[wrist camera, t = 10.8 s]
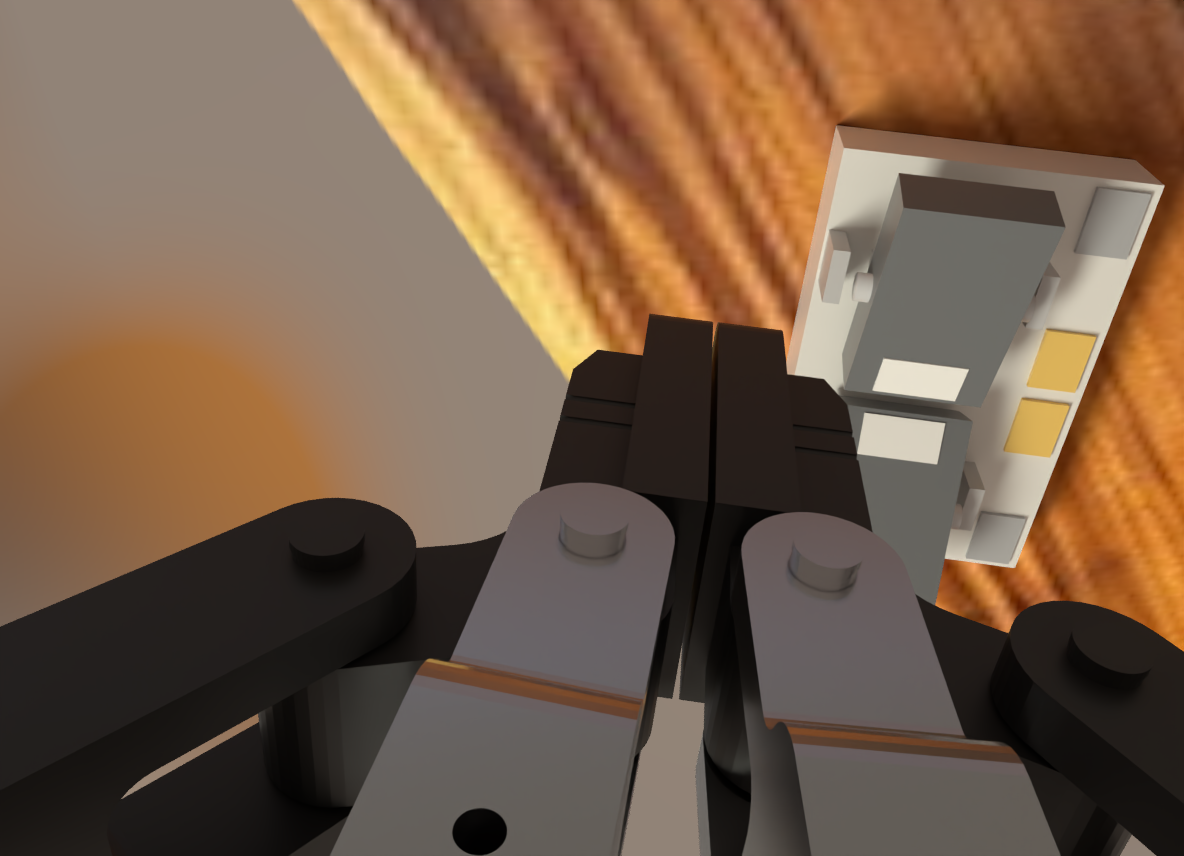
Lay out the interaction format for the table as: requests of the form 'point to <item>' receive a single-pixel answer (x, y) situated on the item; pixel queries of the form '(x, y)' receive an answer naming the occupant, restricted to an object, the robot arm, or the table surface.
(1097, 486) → the table surface
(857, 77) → the table surface
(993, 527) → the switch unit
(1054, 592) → the table surface
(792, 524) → the robot arm
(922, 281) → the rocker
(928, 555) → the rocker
